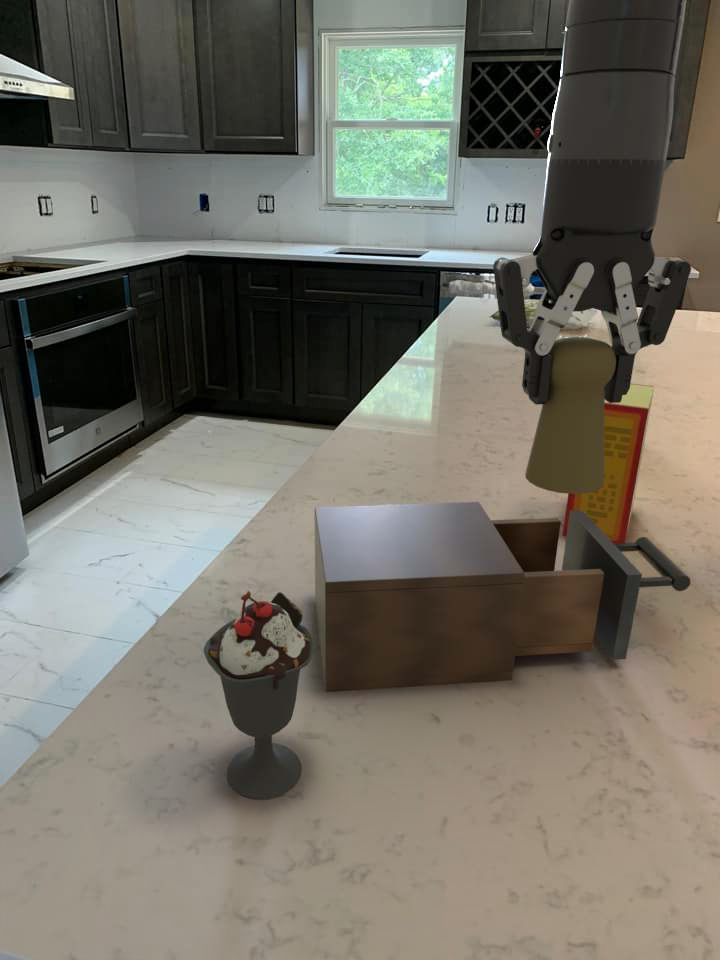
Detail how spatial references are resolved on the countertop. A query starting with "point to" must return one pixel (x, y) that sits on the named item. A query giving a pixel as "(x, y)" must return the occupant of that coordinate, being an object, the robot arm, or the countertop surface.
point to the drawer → (579, 585)
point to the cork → (573, 418)
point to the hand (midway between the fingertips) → (574, 399)
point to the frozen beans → (574, 323)
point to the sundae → (262, 690)
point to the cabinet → (414, 596)
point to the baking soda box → (617, 465)
